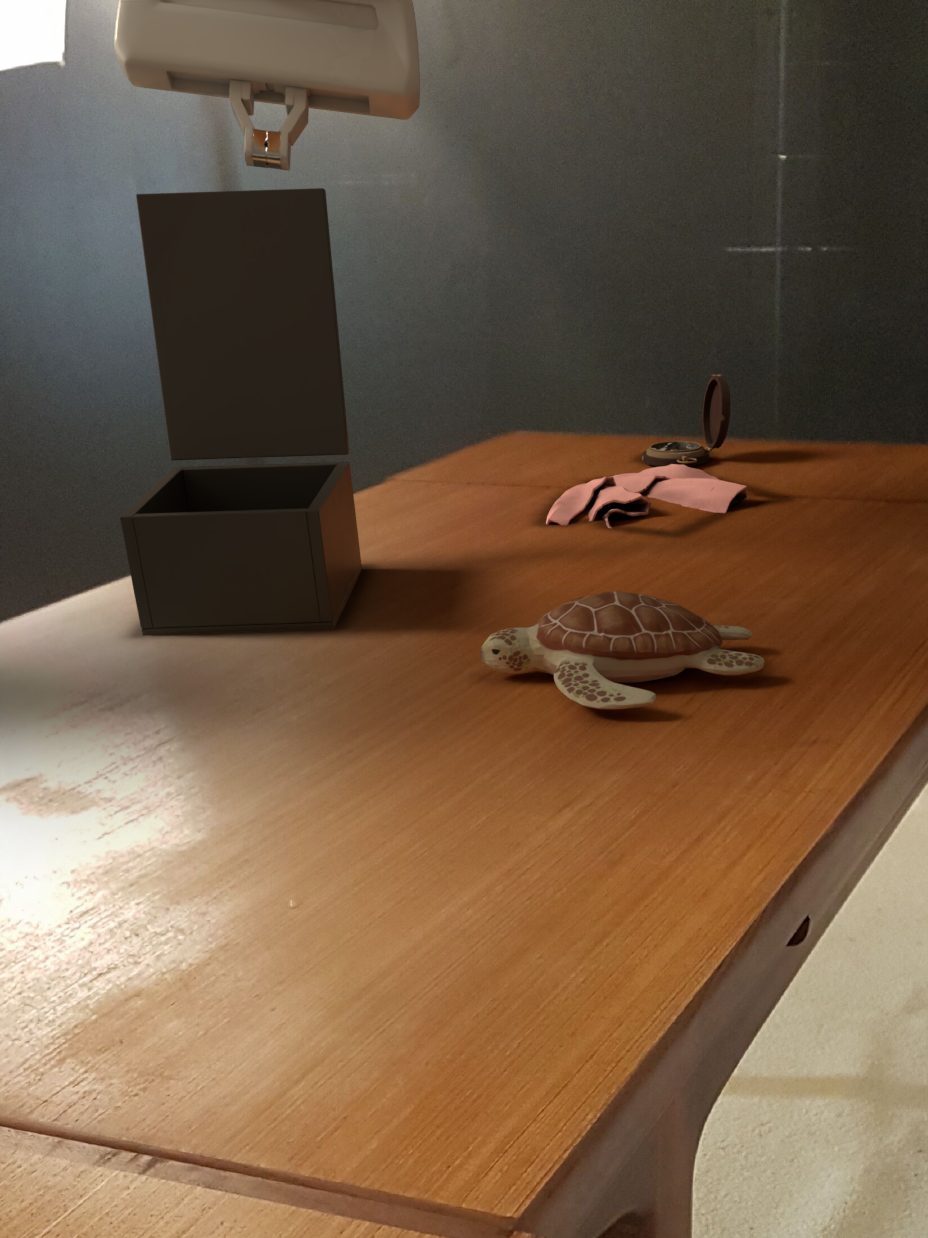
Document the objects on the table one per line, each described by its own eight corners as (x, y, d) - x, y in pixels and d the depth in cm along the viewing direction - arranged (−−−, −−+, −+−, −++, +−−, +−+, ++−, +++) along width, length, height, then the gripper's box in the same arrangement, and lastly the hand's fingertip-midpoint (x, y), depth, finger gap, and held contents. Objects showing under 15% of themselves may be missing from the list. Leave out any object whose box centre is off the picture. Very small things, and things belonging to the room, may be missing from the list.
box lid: (323, 187, 109) (325, 189, 109) (135, 193, 109) (138, 195, 109) (348, 454, 115) (349, 454, 116) (170, 460, 115) (173, 460, 116)
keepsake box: (334, 634, 107) (318, 510, 103) (143, 640, 107) (119, 516, 103) (362, 573, 120) (349, 461, 116) (192, 579, 120) (172, 467, 116)
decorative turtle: (483, 640, 105) (476, 560, 102) (738, 628, 106) (739, 549, 103) (481, 735, 90) (473, 644, 87) (779, 720, 90) (781, 630, 88)
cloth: (697, 472, 147) (697, 443, 146) (822, 519, 131) (823, 487, 129) (487, 498, 140) (485, 468, 139) (590, 552, 123) (589, 518, 122)
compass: (634, 459, 153) (632, 374, 149) (715, 452, 154) (715, 369, 150) (655, 475, 146) (654, 387, 142) (739, 468, 148) (740, 381, 144)
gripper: (106, -104, 105) (100, 121, 106) (424, -61, 107) (414, 159, 109) (125, -44, 111) (119, 168, 113) (425, -5, 114) (416, 202, 115)
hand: (267, 164), depth 111 cm, fingers closed
